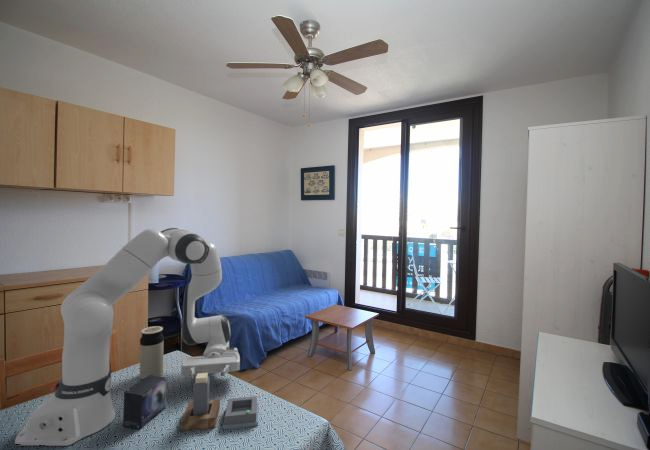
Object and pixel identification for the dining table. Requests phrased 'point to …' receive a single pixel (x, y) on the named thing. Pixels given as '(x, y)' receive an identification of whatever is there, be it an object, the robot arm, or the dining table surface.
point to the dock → (241, 413)
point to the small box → (144, 401)
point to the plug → (201, 394)
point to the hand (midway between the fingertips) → (208, 375)
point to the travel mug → (151, 352)
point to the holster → (200, 417)
